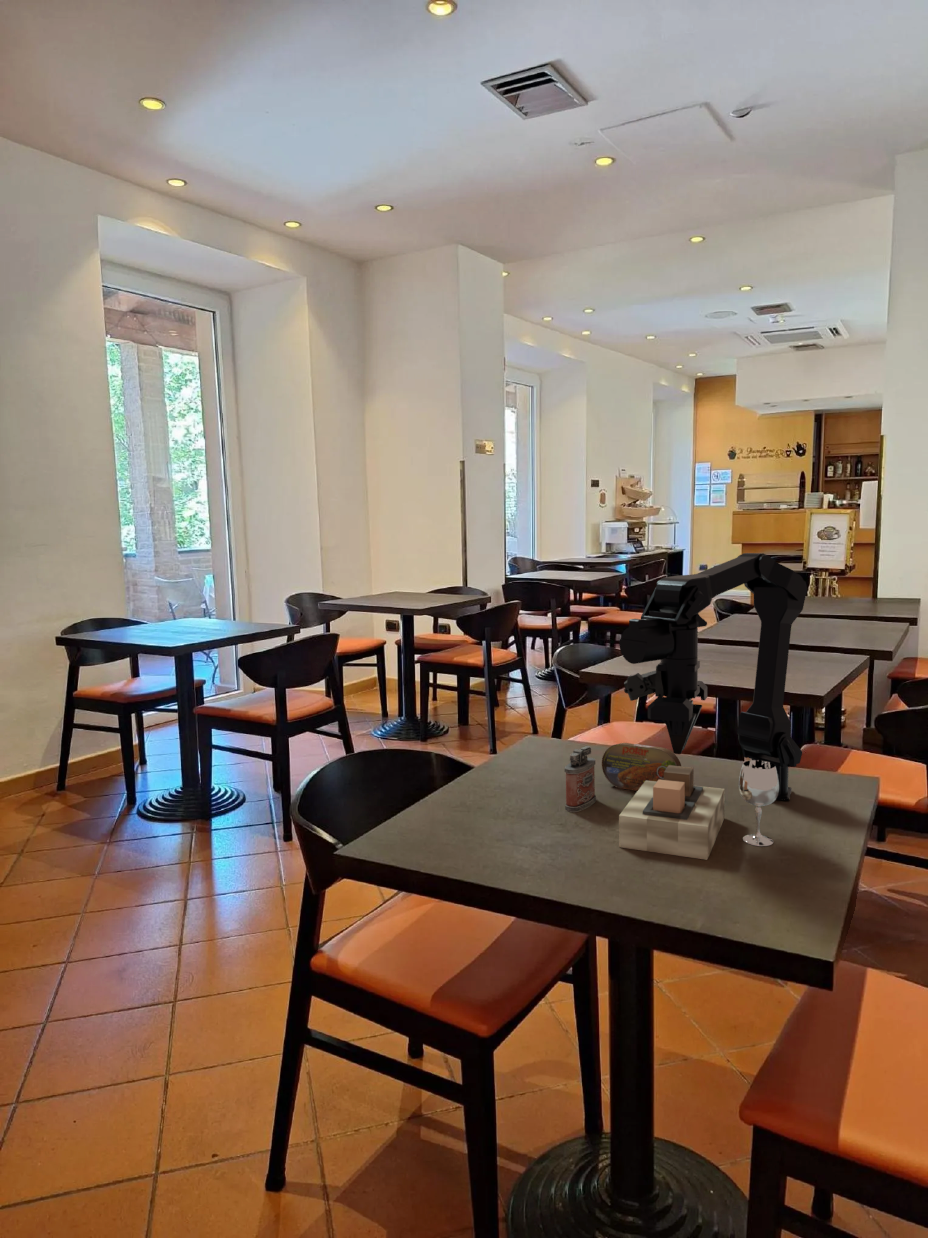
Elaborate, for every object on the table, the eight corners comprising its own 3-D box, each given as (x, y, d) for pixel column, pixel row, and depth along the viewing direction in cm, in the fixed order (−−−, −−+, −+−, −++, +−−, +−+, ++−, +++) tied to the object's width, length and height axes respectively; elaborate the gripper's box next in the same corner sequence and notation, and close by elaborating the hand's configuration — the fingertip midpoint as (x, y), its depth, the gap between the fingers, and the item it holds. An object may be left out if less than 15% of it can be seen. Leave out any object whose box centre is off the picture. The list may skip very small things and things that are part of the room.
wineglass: (753, 850, 121) (754, 772, 120) (730, 836, 127) (731, 761, 125) (786, 845, 123) (787, 767, 121) (762, 831, 128) (763, 757, 127)
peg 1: (668, 795, 135) (668, 765, 134) (693, 798, 133) (693, 767, 132) (663, 803, 131) (663, 772, 131) (689, 806, 129) (689, 774, 129)
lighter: (577, 813, 139) (577, 756, 137) (560, 809, 141) (559, 753, 139) (600, 800, 145) (599, 745, 144) (583, 796, 147) (582, 742, 146)
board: (645, 808, 140) (645, 777, 139) (724, 818, 134) (724, 786, 134) (619, 847, 124) (619, 812, 123) (707, 859, 118) (707, 823, 118)
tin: (601, 785, 153) (600, 741, 152) (608, 780, 156) (608, 737, 155) (677, 799, 144) (677, 752, 143) (684, 794, 147) (684, 748, 146)
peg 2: (658, 811, 128) (658, 779, 127) (684, 814, 126) (684, 782, 125) (653, 820, 124) (653, 787, 123) (679, 823, 122) (679, 790, 122)
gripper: (641, 646, 141) (642, 733, 143) (614, 664, 124) (615, 763, 126) (708, 648, 136) (707, 739, 138) (688, 667, 120) (688, 770, 122)
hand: (678, 751), depth 131 cm, fingers closed
